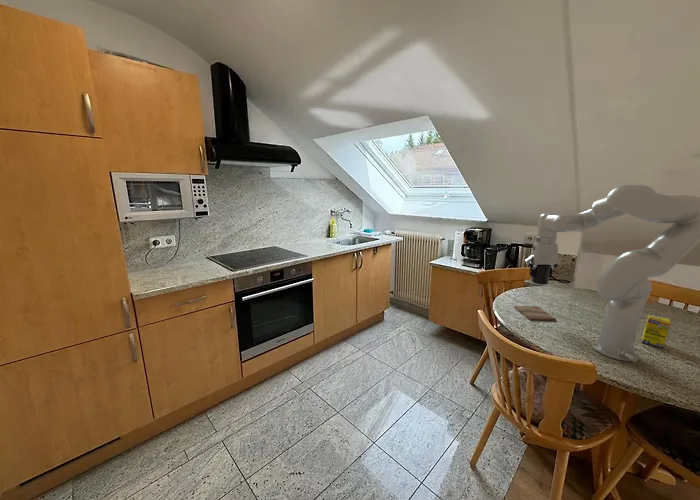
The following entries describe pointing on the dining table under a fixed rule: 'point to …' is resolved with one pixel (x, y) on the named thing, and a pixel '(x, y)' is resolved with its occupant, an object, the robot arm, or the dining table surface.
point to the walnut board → (534, 313)
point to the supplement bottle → (541, 274)
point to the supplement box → (655, 331)
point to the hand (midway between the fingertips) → (540, 276)
